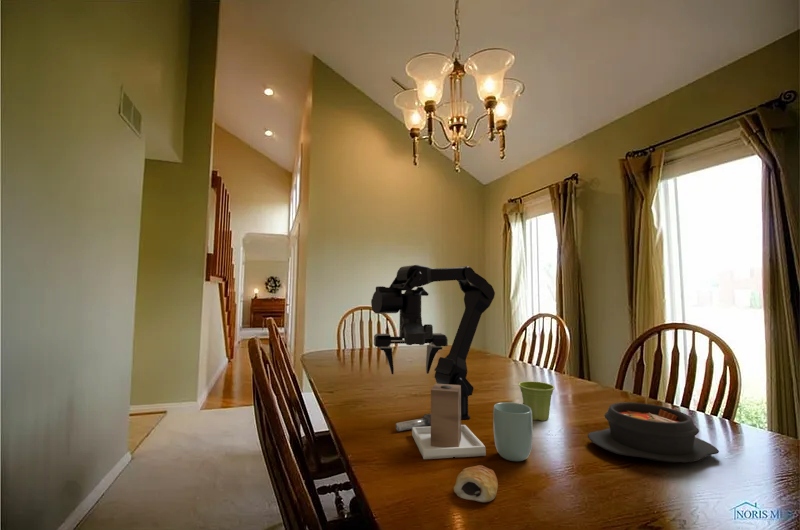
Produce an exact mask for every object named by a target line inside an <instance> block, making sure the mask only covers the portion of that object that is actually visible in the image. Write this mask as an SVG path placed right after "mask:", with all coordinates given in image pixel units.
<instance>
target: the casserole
mask: <svg viewBox="0 0 800 530" xmlns="http://www.w3.org/2000/svg"><path fill="white" fill-rule="evenodd" d="M604 418H605V419H606V420H607V422H608V425H609V427H608V428H605V429H603V430H596V431H595V430H594V431H591V432H589V433H588V434H587V438H588V440H590V441H591V442H592V443H593V444H594V445H596V446H597V447H600V448H601V449H603V450H606V451H608V452H611V453H613V454H616V455H621V456H627V457H636V458H641V459H645V460H648V459H649V461H654V462H659V461H660V463H661V462H662V463H692V462H696V461H701V460H702V459H705V458H706V457H708V456H712V455H716V454H719V453H720V451H719V449H718V448H717V447H716V446H715V445H712V444H711V443H709V442H707V441H705V440H704V439H701V438H698V437H696V435H698V434H699V432H700V429H699V428H698V427H697V426H696V425H695V423H694V420H693V418H692V417H691V416H690V415H688V414H687V413H684V412H682V411H679V410H677V409H674V408H669V407H665V406H661V405H656V404H650V403H643V402H616V403H612V404H610V405H609V407H608V410H607V411H606V412H605V413H604Z"/></svg>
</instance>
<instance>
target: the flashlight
mask: <svg viewBox="0 0 800 530" xmlns="http://www.w3.org/2000/svg"><path fill="white" fill-rule="evenodd" d="M428 426H431V413H427V414H424V415H423V417H422V418H417V419H412V420H406V421H405V420H404V421H400V422H396V423H395V430H396V431H397V432H398V433H399V432H403V431H408V430H412V427H428Z"/></svg>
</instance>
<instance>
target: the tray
mask: <svg viewBox="0 0 800 530" xmlns="http://www.w3.org/2000/svg"><path fill="white" fill-rule="evenodd" d="M411 436H412V438H413V439H414V442H415V444H416V446H417V449H418V451H419V453H420V454H421V457H422V459H423V460H433V459H434V460H436V459H450V458H451V459H452V458H453V457H455V458H467V457H468V458H471V457H485V456H486V455H487V453H486V452H487V451H486V450H487V449H486V446H485V445H484V443H483V442H482V441H481V440H480V439H479V438H478V437H477V436H476V434H474V433H473V431H472V430H471V429H470V428H469V427H468V426H467V425H466V424H461V441H460V445H459V447H449V448H443V447H434V446H431V426H425V427H412V429H411ZM453 459H454V458H453Z"/></svg>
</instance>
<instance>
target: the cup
mask: <svg viewBox="0 0 800 530" xmlns="http://www.w3.org/2000/svg"><path fill="white" fill-rule="evenodd" d="M492 414H493V415H492V417H493V419H492V420H493V421H492V422H493V426H492V427H493V440H494V445H495V448H496V451H497V453H498V454H499V456H500V457H501V458H502V459H504V460H507V461H511V462H523V461H526V460H527V459H528V458H529V456H530V454H531V451H532V447H533V427H534V426H533V420H532V410H531V408H530V407H529V406H526V405H524V404H523V403H517V402H506V401H504V402H497V403H495V404H494V405H493V412H492Z"/></svg>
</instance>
